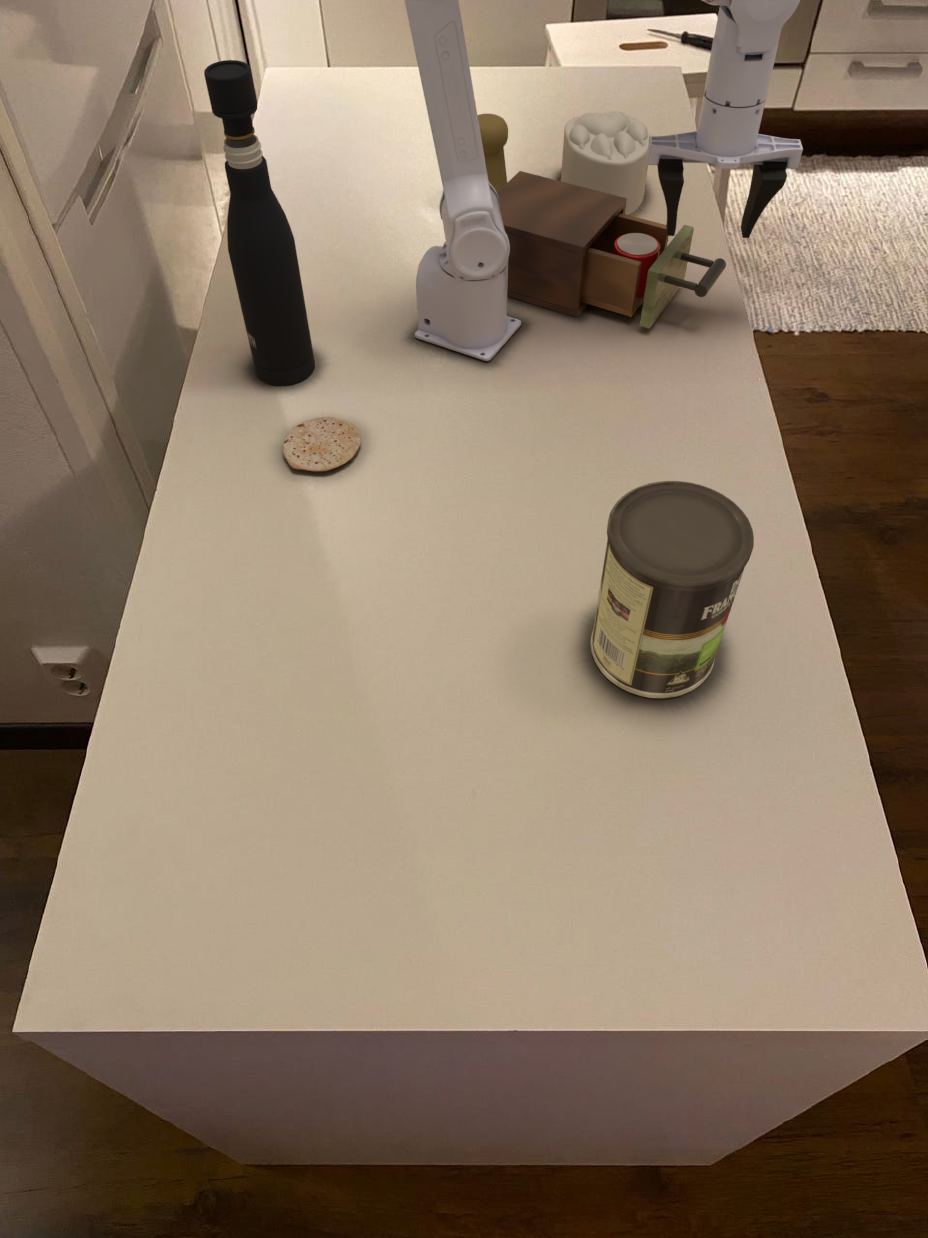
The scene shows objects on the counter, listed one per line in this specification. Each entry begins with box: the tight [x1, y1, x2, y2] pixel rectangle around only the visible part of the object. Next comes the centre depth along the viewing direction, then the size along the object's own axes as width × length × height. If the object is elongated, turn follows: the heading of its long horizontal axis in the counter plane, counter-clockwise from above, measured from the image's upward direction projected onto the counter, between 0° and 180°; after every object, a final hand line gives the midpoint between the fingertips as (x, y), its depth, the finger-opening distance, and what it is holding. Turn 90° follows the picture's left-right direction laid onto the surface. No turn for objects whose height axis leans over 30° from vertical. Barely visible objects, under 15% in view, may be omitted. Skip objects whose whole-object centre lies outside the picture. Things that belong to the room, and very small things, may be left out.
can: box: [613, 233, 660, 298], centre depth 106 cm, size 5×5×5 cm
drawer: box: [581, 213, 727, 329], centre depth 106 cm, size 17×10×7 cm, turn 61°
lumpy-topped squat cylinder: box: [560, 110, 650, 216], centre depth 121 cm, size 10×13×9 cm
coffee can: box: [590, 480, 755, 699], centre depth 73 cm, size 10×10×14 cm
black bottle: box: [203, 59, 316, 387], centre depth 90 cm, size 6×6×30 cm
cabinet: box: [497, 170, 627, 318], centre depth 109 cm, size 14×12×9 cm
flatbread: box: [282, 416, 362, 472], centre depth 93 cm, size 8×8×1 cm
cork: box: [477, 113, 509, 192], centre depth 118 cm, size 6×6×11 cm
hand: (707, 231), depth 99 cm, fingers open, 7 cm apart
